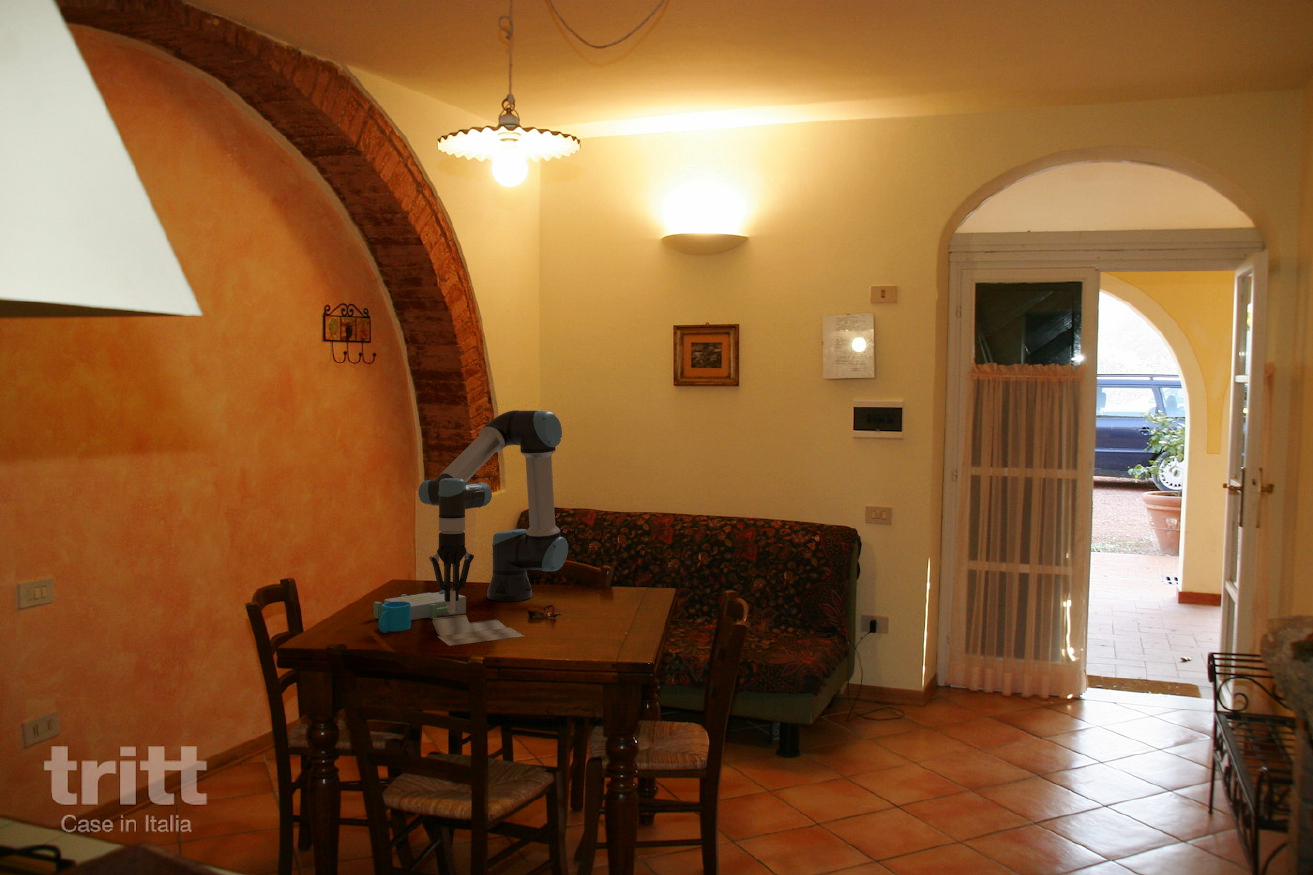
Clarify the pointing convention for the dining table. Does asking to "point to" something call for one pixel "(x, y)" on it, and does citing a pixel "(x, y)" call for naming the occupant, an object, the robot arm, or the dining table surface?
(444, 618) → the plank
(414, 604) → the decorative block
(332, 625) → the dining table surface
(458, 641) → the floor board
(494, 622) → the grey rectangular panel
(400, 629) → the mug
